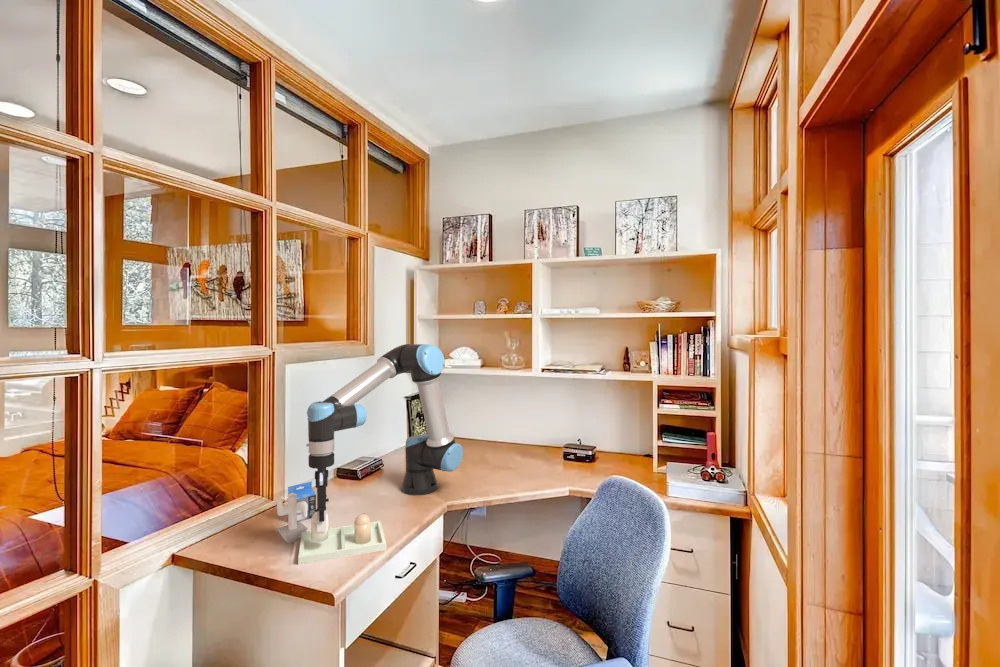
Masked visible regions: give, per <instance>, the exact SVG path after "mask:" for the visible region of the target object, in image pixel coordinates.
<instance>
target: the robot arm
mask: <svg viewBox="0 0 1000 667" xmlns="http://www.w3.org/2000/svg"><path fill="white" fill-rule="evenodd" d="M444 367H445V357H444V353H443V352H442V350H441V349H440V347H438V346H436V345H434V344H428V343H422V344H421V343H420V344H419V343H417V344H412V343H411V344H410V343H407V344H401V345H399V346H396V347H394V348H393V349H391V350H390V351H387V352H386V353H384V354H383V355H382V356H380V357H379V358H377V361H376V363H374V365H372V366H370V367H369V368H368V369H367V370H365V371H364V372H362V373H361V374H359V375H358V376H356V377H355V378H354V379H352V380H351V381H350V382H348V383H347V384H345V385H344V386H343V387H341V388H340V389H338V390H337V391H335V392H334V393H333V394H332V395H330V396H328V397H327V398H325V399H324V400H323V401H320V400H319V401H315V402H312V403H310V405H309V406H308V408H307V411H306V415H307V425H308V426H307V431H308V432H307V435H308V437H307V438H308V443H306V447H308V453H309V455H308V468H310V469H317V470H315V471H314V480H315V488H316V509H315V512H317V532H322V531H327V514H328V511H327V506H328V505H327V503H328V502H329V498H327V496H328V495H327V487H328V483H329V482H328V481H329V480H328V478H329V469H327V468H329V467H332V466H333V465H334V464H335V453H334V451H335V432H338V431H343V430H349V429H356V428H358V427H361V426H363V425H364V424H365V423H366V421H367V411H366V408H365V407H364V406H363V405H362V404H360V403H358V404H356V403H357V402H359V401H360V400H362V399H363V398H364V397H366V396H367V395H368V394H370V393H371V392H372V391H373V390H375V389H376V388H377V387H379V386H380V385H381V384H383V383H384V382H385V381H387V380H388V379H393V378H395V377H396V376H398V375H400V374H410V376H411V381H412V382H413V383H414V384H416V385H417V390H418V394H419V399H420V403H421V404H420V405H421V408H422V412H423V413H422V414H423V418H424V422H425V426H426V431H427V434H426V433H425V434H424V433H423V434H416V435H412V436H409V437H407V438H406V441H405V446H404V447H405V474H404V477H403V481H402V485H401V491H402V492H403V493H404V494H406V495H409V496H411V495H412V496H422V495H427V494H431V493H434V492H435V491H437V490H438V480H437V477H436V474H435V471H434V470H438V471H441V472H449V473H452V472H454V471H455V470H457V469H458V468H459V466H460V464H461V462H462V460H463V455H464V450H463V446H462V445H461V444H460V443H458V442H456V440H455V435H454V434H453V433H451V432H450V429H449V425H448V420H447V415H446V409H445V405H444V400H443V395H442V391H441V385H440V381H439V379H440V377H441V376H442V372H443V370H444Z"/></svg>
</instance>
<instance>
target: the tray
mask: <svg viewBox="0 0 1000 667" xmlns="http://www.w3.org/2000/svg"><path fill="white" fill-rule="evenodd" d="M381 521H382V520H376V521H370V525H371V540H370V542H368V543H366V544H356V543H355V538H354V524H350V525H349V524H348V525H343V526H337V527H330V528H329V527H328V539H326V540H324V541H321V542H313V541H311V530H309V531H308V530H307V531H306V532H302V535H301V537H300V543H299V551H298V558H297V559H298V560H297V562H298V563H297V564H298V566H301V565H306V564H312V563H317V562H323V561H324V562H325V561H330V560H336V559H341V558H346V557H352V556H357V555H358V556H359V555H364V554H365V555H366V554H369V553H375V552H381V551H387V539H386V536H385V532H384V530H383V529H384V528H383V525H382V522H381Z"/></svg>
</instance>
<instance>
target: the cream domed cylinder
mask: <svg viewBox="0 0 1000 667" xmlns="http://www.w3.org/2000/svg"><path fill="white" fill-rule="evenodd" d="M310 519H311V520H310V523H311V524H310V531H311V541H313V542H321V541H324V540H326V539H328V528H329V514H328V513H327V531H322V532H317V512H315V513H314V514H313V516H312V518H310Z"/></svg>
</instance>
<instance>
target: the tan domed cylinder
mask: <svg viewBox="0 0 1000 667" xmlns="http://www.w3.org/2000/svg"><path fill="white" fill-rule="evenodd" d="M370 522H371V518H370V516H369V515H368V514H366V513H360V514H359V515H357V516H356V517H355V519H354V523H353V525H354V538H355V543H356V544H366V543H368V542H370V540H371V525H370Z"/></svg>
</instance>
